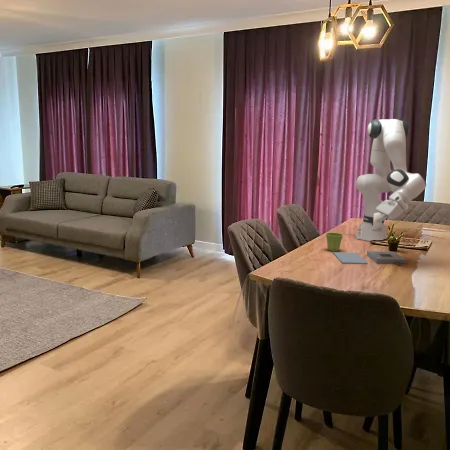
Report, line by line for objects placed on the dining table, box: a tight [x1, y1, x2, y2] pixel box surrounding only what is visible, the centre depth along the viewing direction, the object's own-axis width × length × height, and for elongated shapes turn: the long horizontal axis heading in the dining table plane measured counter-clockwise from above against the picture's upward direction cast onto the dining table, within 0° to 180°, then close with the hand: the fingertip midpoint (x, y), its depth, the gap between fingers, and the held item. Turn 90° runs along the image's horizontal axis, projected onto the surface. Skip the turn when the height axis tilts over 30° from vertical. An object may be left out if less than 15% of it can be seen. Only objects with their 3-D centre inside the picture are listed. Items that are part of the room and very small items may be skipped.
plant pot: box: [325, 231, 344, 252], centre depth 253 cm, size 9×9×9 cm
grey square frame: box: [366, 250, 407, 267], centre depth 234 cm, size 21×14×2 cm, turn 0°
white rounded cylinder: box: [372, 213, 382, 232], centre depth 233 cm, size 5×5×8 cm
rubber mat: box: [332, 251, 368, 265], centre depth 236 cm, size 20×12×1 cm, turn 0°
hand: (376, 220), depth 233 cm, fingers closed on white rounded cylinder, 4 cm apart
